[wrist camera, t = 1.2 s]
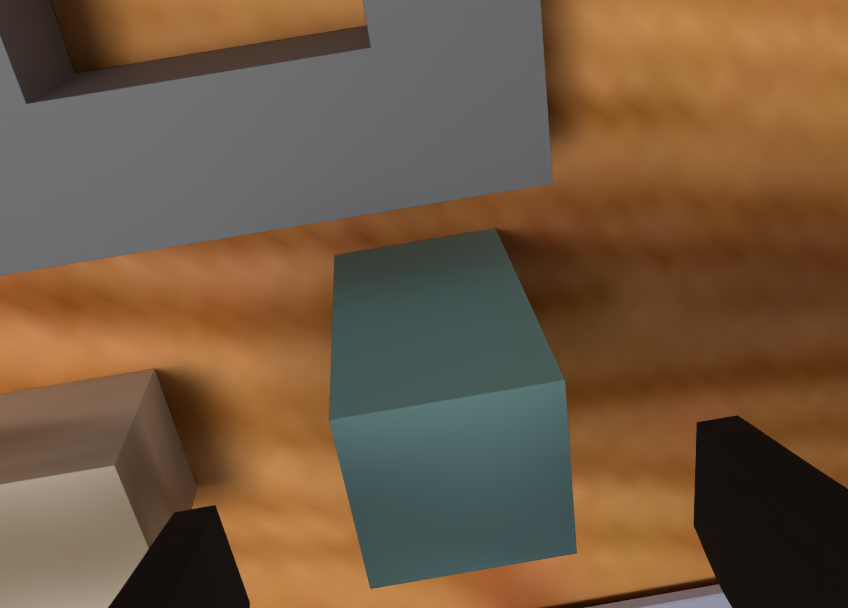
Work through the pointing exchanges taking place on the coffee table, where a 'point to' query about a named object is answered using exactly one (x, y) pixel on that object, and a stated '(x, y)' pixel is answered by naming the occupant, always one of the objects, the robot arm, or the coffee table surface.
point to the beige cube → (85, 487)
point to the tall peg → (447, 411)
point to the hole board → (264, 129)
